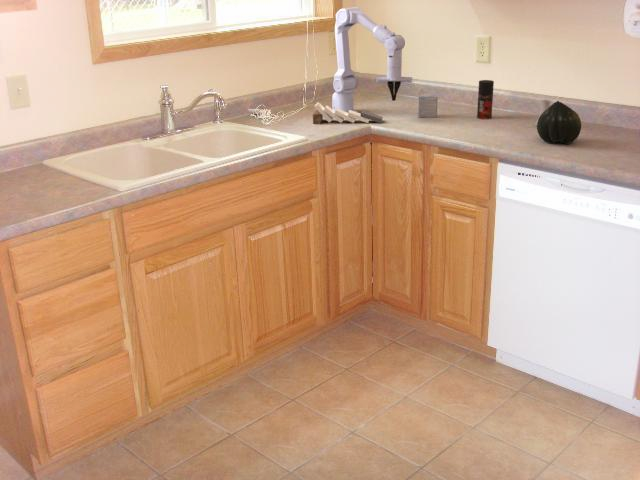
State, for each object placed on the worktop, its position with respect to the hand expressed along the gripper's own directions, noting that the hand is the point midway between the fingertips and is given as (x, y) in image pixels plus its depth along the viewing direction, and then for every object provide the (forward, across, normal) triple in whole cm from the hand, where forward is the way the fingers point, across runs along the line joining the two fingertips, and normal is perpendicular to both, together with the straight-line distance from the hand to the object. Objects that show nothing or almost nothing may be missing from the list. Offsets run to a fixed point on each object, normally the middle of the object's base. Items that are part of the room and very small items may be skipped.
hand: (393, 100), depth 304 cm
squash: (+8, +60, -34) cm, 70 cm away
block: (+8, -31, -3) cm, 33 cm away
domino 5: (+8, -5, -3) cm, 10 cm away
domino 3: (+8, -16, -3) cm, 18 cm away
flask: (+8, +59, -9) cm, 61 cm away
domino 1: (+8, -26, -3) cm, 27 cm away
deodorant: (+8, +37, +6) cm, 39 cm away
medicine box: (+9, +14, +8) cm, 18 cm away
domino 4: (+8, -10, -3) cm, 13 cm away
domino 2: (+8, -21, -3) cm, 22 cm away
